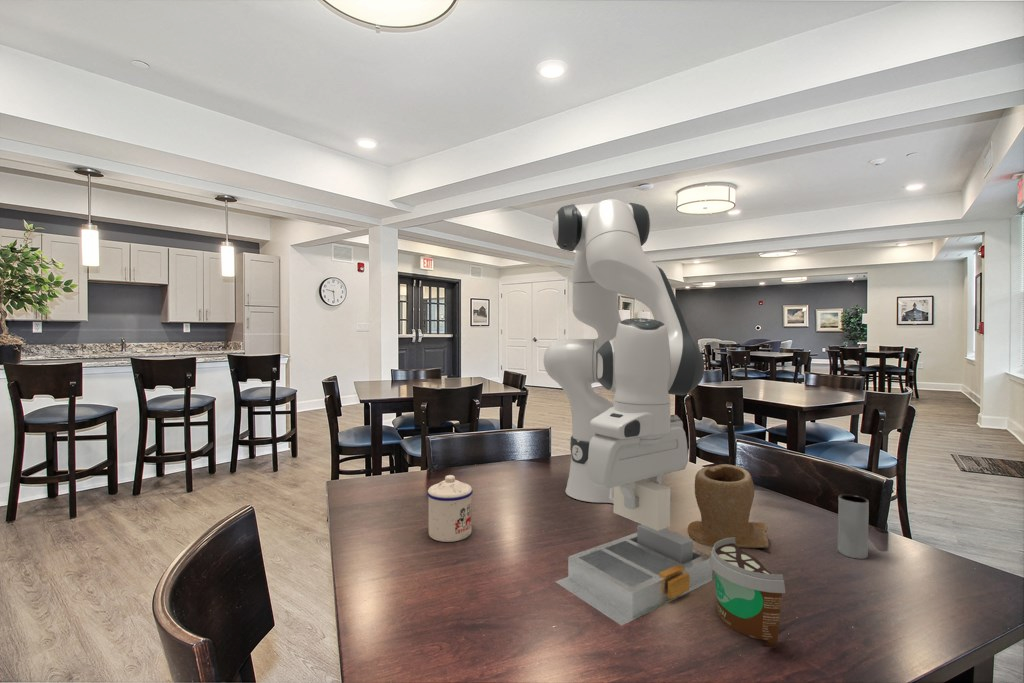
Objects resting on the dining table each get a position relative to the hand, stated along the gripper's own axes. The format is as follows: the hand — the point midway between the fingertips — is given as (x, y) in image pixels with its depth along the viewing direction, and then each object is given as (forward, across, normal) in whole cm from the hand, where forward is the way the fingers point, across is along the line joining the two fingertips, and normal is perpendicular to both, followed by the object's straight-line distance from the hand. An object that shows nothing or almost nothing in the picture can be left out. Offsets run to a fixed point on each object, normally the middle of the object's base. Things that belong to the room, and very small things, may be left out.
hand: (640, 505), depth 78 cm
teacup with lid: (+13, +15, -36) cm, 41 cm away
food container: (+13, -2, +15) cm, 20 cm away
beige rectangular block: (+2, 0, 0) cm, 2 cm away
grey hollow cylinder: (+13, -41, +15) cm, 46 cm away
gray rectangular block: (+12, -6, 0) cm, 13 cm away
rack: (+13, 0, 0) cm, 13 cm away
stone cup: (+13, -26, 0) cm, 29 cm away
